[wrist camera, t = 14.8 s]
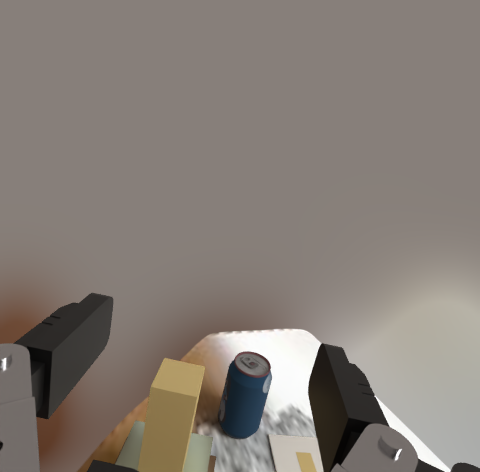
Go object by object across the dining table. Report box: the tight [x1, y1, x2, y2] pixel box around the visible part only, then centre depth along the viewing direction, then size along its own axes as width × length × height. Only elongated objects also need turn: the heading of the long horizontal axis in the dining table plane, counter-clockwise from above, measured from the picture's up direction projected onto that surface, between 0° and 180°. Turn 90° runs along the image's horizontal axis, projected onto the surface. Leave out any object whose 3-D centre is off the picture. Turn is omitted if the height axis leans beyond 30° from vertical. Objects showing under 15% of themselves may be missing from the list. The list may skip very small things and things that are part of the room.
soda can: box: [218, 352, 272, 439], centre depth 52 cm, size 7×7×12 cm
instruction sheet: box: [268, 434, 324, 472], centre depth 48 cm, size 16×11×1 cm
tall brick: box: [138, 358, 205, 472], centre depth 34 cm, size 4×4×12 cm
